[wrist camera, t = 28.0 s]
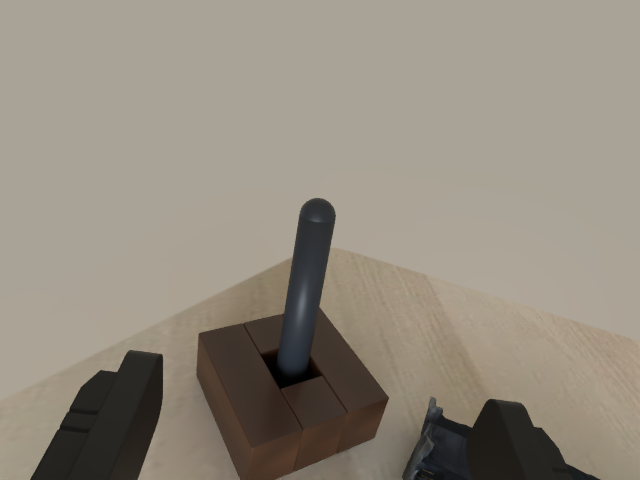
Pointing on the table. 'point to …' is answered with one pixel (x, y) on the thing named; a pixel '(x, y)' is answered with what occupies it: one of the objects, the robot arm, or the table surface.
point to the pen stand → (285, 397)
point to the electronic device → (448, 451)
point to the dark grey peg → (304, 291)
